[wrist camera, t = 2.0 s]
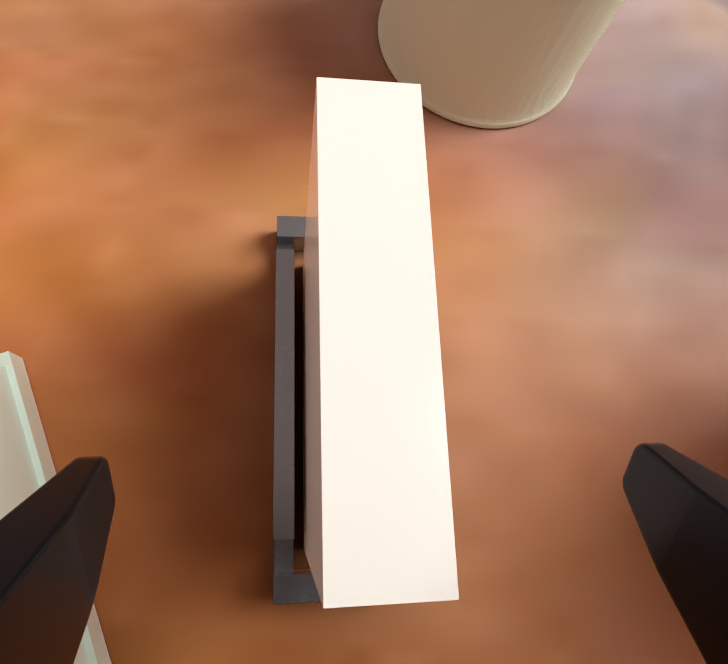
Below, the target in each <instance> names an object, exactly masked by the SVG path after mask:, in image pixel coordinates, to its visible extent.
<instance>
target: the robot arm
mask: <svg viewBox="0 0 728 664" xmlns="http://www.w3.org/2000/svg"><path fill="white" fill-rule="evenodd" d="M623 488H624V491H625V494H626V497H627V499H628V501H629V504H630V506H631V509H632V511H633V514H634V516H635V518H636V521H637V523H638V526H639V528H640V530H641V533H642V535H643V538H644V540H645V543H646V545H647V547H648V550H649V552H650V555H651V557H652V559H653V562H654V564H655V566H656V568H657V570H658V572H659V574H660V576H661V578H662V580H663V582H664V584H665V586H666V588H667V590H668V592H669V594H670V596H671V598H672V599H673V601H674V603H675V605H676V607H677V609H678V611H679V613H680V615H681V616H682V618H683V620H684V622H685V624H686V626H687V628H688V630H689V632H690V633H691V635H692V637H693V639H694V641H695V643H696V645H697V647H698V648H699V650H700V652H701V654H702V656H703V658H704V660H705V662H706V664H728V480H727V479H726V478H724V477H722V476H720V475H718V474H717V473H715V472H713V471H711V470H710V469H708V468H706V467H704V466H702V465H701V464H699V463H697V462H695V461H693V460H692V459H690V458H688V457H686V456H685V455H683V454H681V453H679V452H677V451H676V450H674V449H672V448H670V447H668V446H667V445H665V444H662V443H642V444H639V445H638V446H637V447H636V448H635V449H634V452H633V454H632V457H631V459H630V462H629V464H628V467H627V469H626V471H625V474H624V477H623ZM114 506H115V494H114V489H113V484H112V479H111V474H110V469H109V464H108V462H107V460H106V458H104V457H101V456H96V457H78V458H76V459H74V460H73V461H72V462H71V463H69V464H68V465H67V466H66V467H64V468H63V469H62V470H61V471H59V472H58V473H57V474H56V475H55V476H53V477H52V478H51V479H50V480H48V481H47V482H46V483H45V484H43V485H42V486H41V487H40V488H39V489H37V490H36V491H35V492H34V493H32V494H31V495H30V496H29V497H28V498H26V499H25V500H24V501H23V502H21V503H20V504H19V505H18V506H16V507H15V508H14V509H13V510H12V511H10V512H9V513H8V514H7V515H5V516H4V517H3V518H2V519H0V664H74V661H75V658H76V655H77V652H78V649H79V646H80V643H81V640H82V637H83V634H84V631H85V628H86V625H87V622H88V619H89V616H90V613H91V610H92V606H93V603H94V599H95V595H96V590H97V586H98V582H99V577H100V572H101V568H102V563H103V558H104V554H105V549H106V544H107V540H108V535H109V530H110V526H111V521H112V517H113V512H114Z"/></svg>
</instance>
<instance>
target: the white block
mask: <svg viewBox="0 0 728 664" xmlns="http://www.w3.org/2000/svg"><path fill="white" fill-rule="evenodd" d="M303 451H304V551H305V554H306V557H307V560H308V563H309V566H310V569H311V572H312V575H313V578H314V581H315V584H316V587H317V590H318V593H319V597H320V600H321V603H322V606H323V608H339V607H354V606H370V605H385V604H401V603H416V602H432V601H447V600H459V593H458V579H457V566H456V553H455V539H454V526H453V512H452V499H451V486H450V472H449V459H448V445H447V432H446V418H445V405H444V392H443V378H442V365H441V351H440V338H439V324H438V311H437V298H436V284H435V271H434V257H433V244H432V231H431V217H430V204H429V190H428V177H427V163H426V150H425V137H424V123H423V110H422V96H421V84H412V83H397V82H382V81H367V80H353V79H338V78H323V77H317V79H316V93H315V107H314V120H313V134H312V147H311V161H310V175H309V188H308V202H307V215H306V229H305V243H304V256H303Z"/></svg>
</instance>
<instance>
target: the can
mask: <svg viewBox="0 0 728 664" xmlns="http://www.w3.org/2000/svg"><path fill="white" fill-rule="evenodd" d="M624 1H625V0H383V3H382V5H381V8H380V13H379V18H378V38H379V44H380V48H381V52H382V55H383V57H384V60H385V62H386V64H387V66H388V68H389V70H390V71H391V73H392V75H393V76H394V78H395V79H396V80H397V82H398V83H412V84H421V96H422V105H423V106H424V107H426V108H427V109H429V110H431V111H432V112H434V113H436V114H438V115H440V116H442V117H444V118H446V119H449V120H451V121H454V122H457V123H461V124H464V125H468V126H473V127H479V128H496V129H498V128H508V127H515V126H519V125H523V124H526V123H529V122H532V121H534V120H536V119H538V118H540V117H542V116H543V115H545V114H547V113H548V112H549V111H551V110H552V109H553V108H554V107H555V106H556V105H557V104H558V103H559V102H560V101H561V100H562V99H563V98H564V96H565V95H566V93H567V92H568V90H569V88H570V86H571V84H572V82H573V80H574V76H575V75H576V73H577V71H578V70H579V68H580V67H581V65H582V64H583V62H584V61H585V59H586V57H587V56H588V54H589V53H590V51H591V50H592V48H593V47H594V46H595V44H596V43H597V41H598V40H599V38H600V37H601V35H602V34H603V32H604V31H605V29H606V28H607V26H608V25H609V23H610V22H611V20H612V19H613V17H614V16H615V14H616V13H617V11H618V10H619V8H620V7H621V6H622V4H623V3H624Z"/></svg>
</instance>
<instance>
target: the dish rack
mask: <svg viewBox="0 0 728 664" xmlns="http://www.w3.org/2000/svg"><path fill="white" fill-rule="evenodd" d="M55 475H56V471H55V468H54V464H53V461H52V458H51V454H50V451H49V447H48V444H47V440H46V437H45V434H44V430H43V427H42V423H41V420H40V416H39V413H38V409H37V406H36V403H35V399H34V396H33V392H32V389H31V385H30V382H29V379H28V375H27V372H26V368H25V365H24V361H23V358H21V357H19V356H17V355H15V354H13V353H11V352H9V351H7V352H4V353H1V354H0V519H2V518H3V517H4V516H5V515H7V514H8V513H9V512H10V511H12V510H13V509H14V508H15V507H16V506H18V505H19V504H20V503H21V502H23V501H24V500H25V499H26V498H28V497H29V496H30V495H31V494H32V493H34V492H35V491H36V490H37V489H39V488H40V487H41V486H42V485H43V484H45V483H46V482H47V481H48V480H50V479H51V478H52V477H53V476H55ZM74 664H111V660H110V657H109V653H108V650H107V646H106V643H105V640H104V636H103V633H102V629H101V626H100V622H99V619H98V615H97V612H96V609H95V605H94V603H93V606H92V610H91V613H90V616H89V619H88V622H87V625H86V628H85V631H84V634H83V637H82V640H81V643H80V646H79V649H78V652H77V655H76V658H75V661H74Z"/></svg>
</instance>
